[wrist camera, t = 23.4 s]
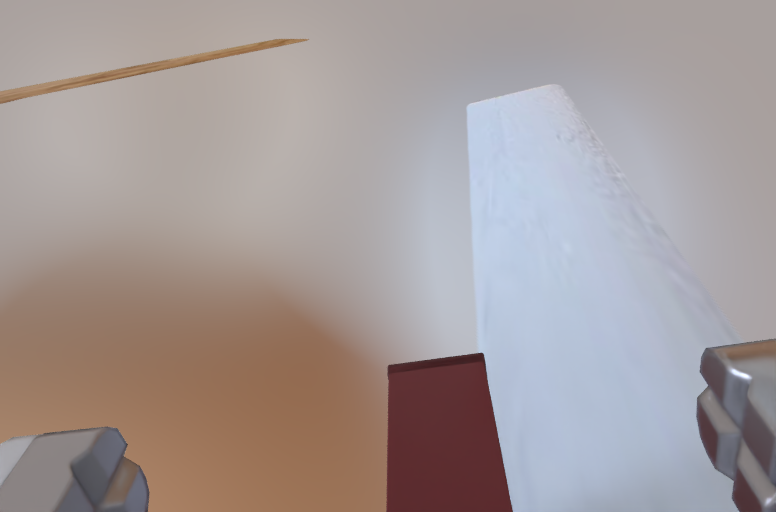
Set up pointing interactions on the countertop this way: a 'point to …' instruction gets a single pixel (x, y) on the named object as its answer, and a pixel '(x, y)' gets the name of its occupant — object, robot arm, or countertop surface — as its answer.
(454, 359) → the burgundy book
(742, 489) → the robot arm
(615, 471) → the countertop surface
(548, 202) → the countertop surface
